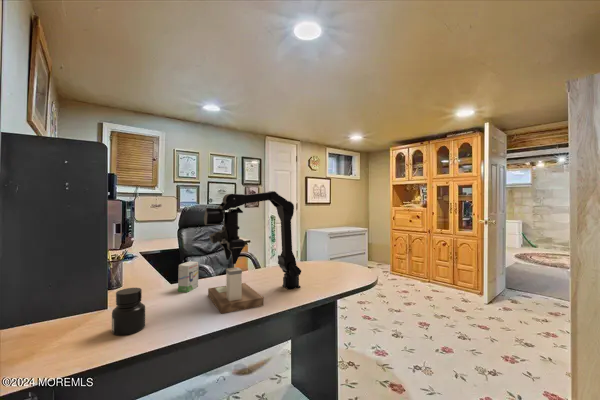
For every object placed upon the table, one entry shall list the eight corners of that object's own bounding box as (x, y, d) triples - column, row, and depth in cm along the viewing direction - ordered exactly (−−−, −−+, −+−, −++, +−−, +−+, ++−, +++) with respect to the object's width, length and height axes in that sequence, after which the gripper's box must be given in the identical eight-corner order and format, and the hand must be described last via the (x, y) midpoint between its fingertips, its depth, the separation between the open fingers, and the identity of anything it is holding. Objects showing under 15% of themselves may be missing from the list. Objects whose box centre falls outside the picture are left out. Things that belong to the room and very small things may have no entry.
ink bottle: (126, 322, 93) (126, 285, 93) (152, 323, 92) (152, 286, 92) (103, 336, 83) (103, 295, 83) (131, 337, 82) (131, 296, 82)
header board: (244, 289, 127) (244, 282, 127) (263, 305, 108) (263, 297, 108) (208, 295, 119) (208, 287, 119) (221, 313, 100) (221, 304, 100)
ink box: (188, 286, 132) (188, 260, 132) (198, 286, 131) (198, 261, 131) (177, 291, 124) (177, 265, 124) (187, 292, 123) (187, 265, 123)
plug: (238, 302, 110) (238, 267, 110) (241, 306, 106) (241, 269, 106) (226, 305, 108) (226, 268, 108) (229, 309, 104) (229, 271, 104)
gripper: (206, 223, 121) (206, 259, 121) (216, 226, 105) (216, 268, 105) (231, 222, 126) (231, 257, 126) (245, 225, 110) (245, 265, 110)
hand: (230, 261), depth 117 cm, fingers open, 9 cm apart
